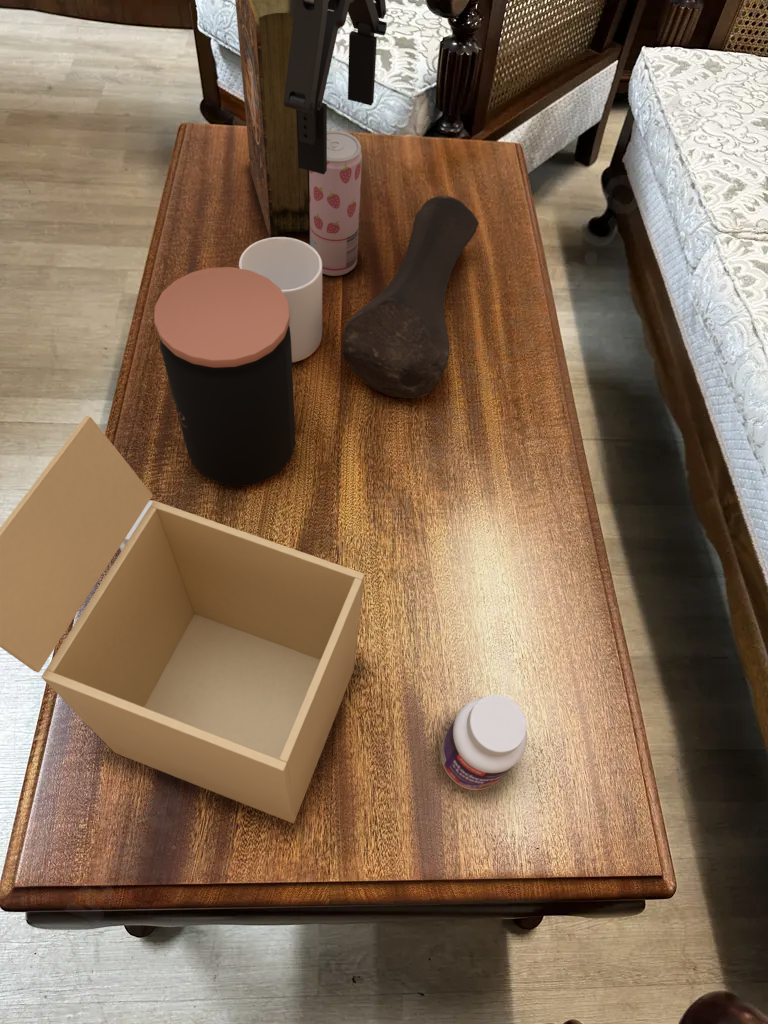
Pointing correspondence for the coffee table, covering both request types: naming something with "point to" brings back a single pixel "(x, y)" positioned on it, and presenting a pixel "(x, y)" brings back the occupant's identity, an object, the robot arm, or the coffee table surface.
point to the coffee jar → (230, 372)
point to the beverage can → (336, 204)
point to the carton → (214, 657)
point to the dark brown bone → (412, 307)
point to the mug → (292, 286)
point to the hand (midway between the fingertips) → (337, 133)
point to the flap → (63, 541)
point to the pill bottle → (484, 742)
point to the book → (272, 114)
